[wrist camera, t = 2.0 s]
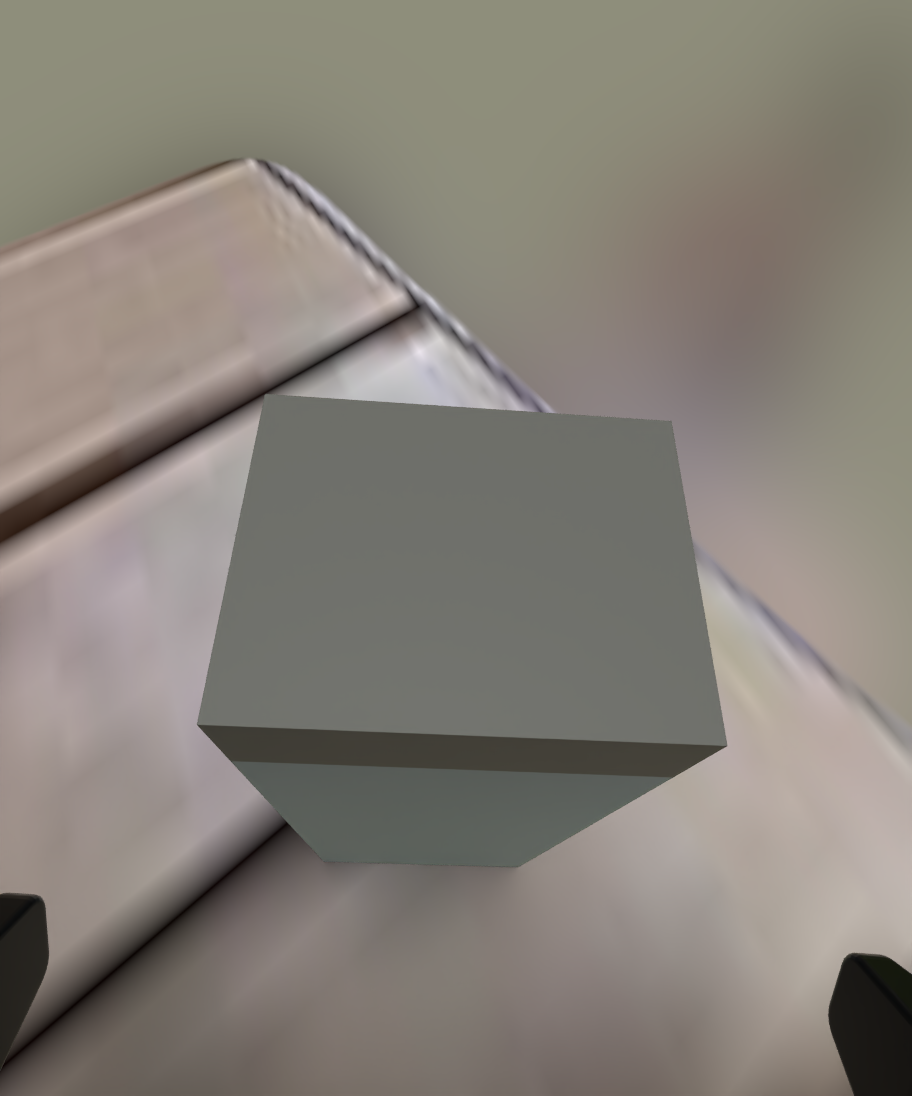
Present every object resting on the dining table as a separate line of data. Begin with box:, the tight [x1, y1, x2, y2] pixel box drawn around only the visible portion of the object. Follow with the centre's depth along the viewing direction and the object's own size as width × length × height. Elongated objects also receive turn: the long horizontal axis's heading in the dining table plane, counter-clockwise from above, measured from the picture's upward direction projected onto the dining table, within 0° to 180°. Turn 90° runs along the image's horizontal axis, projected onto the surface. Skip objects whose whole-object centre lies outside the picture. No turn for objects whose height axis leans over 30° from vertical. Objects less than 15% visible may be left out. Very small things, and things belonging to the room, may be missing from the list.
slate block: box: [197, 394, 727, 867], centre depth 13 cm, size 5×4×13 cm
